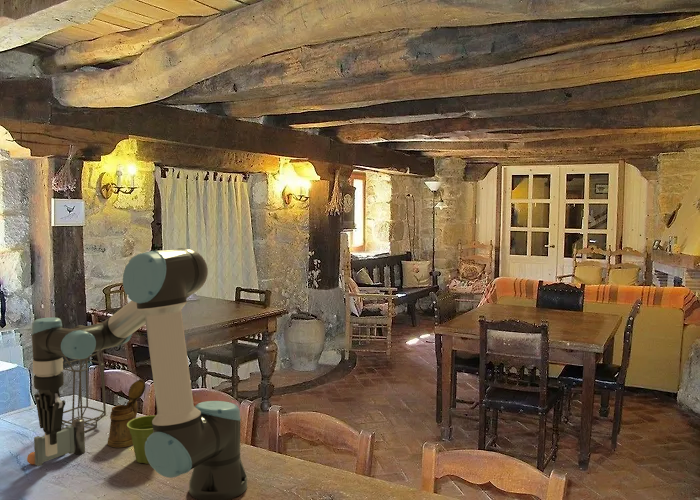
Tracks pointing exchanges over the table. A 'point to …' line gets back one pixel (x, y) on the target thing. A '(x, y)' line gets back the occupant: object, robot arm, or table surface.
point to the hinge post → (79, 436)
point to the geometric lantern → (86, 390)
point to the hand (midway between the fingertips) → (51, 454)
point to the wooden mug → (125, 417)
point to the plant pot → (140, 435)
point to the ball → (31, 458)
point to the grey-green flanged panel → (63, 445)
